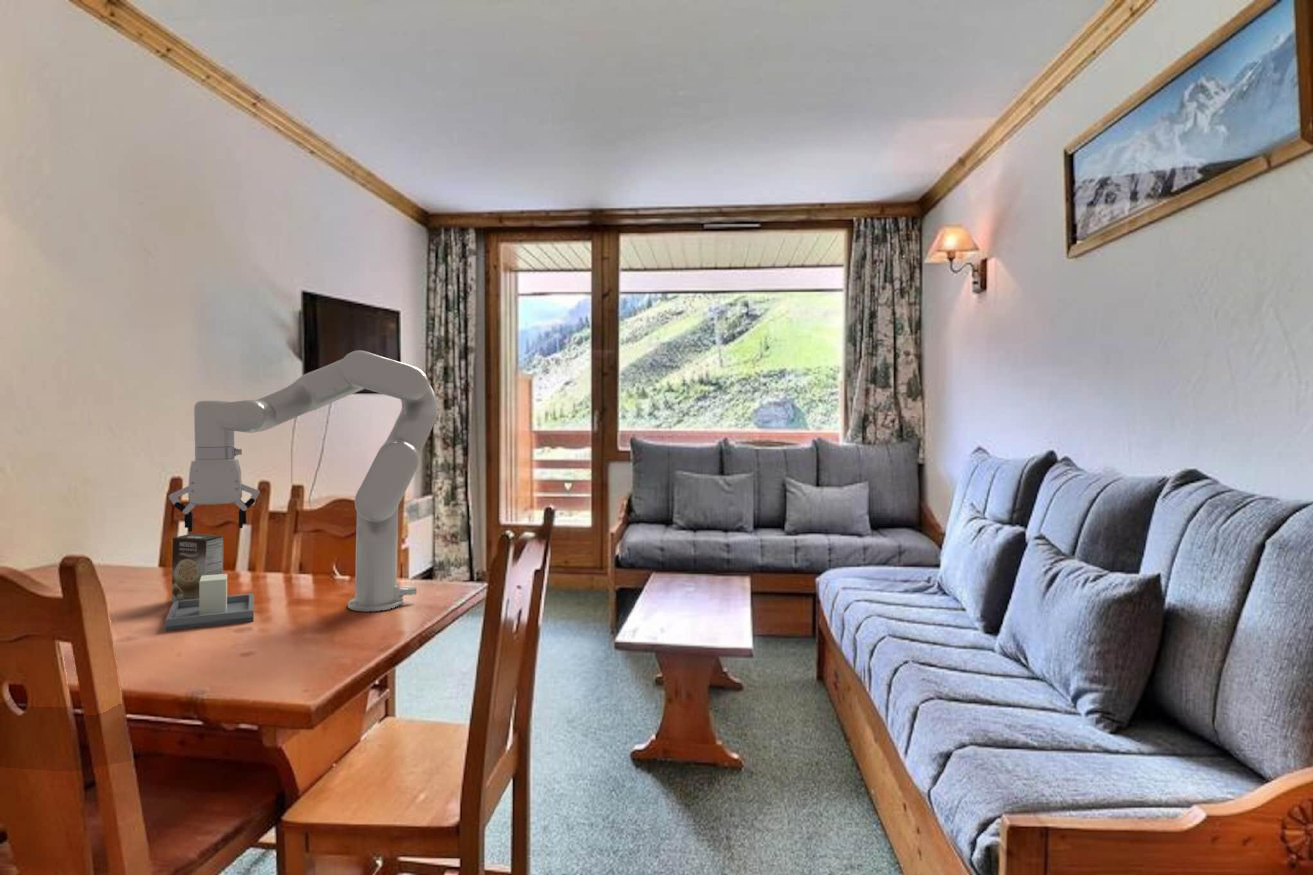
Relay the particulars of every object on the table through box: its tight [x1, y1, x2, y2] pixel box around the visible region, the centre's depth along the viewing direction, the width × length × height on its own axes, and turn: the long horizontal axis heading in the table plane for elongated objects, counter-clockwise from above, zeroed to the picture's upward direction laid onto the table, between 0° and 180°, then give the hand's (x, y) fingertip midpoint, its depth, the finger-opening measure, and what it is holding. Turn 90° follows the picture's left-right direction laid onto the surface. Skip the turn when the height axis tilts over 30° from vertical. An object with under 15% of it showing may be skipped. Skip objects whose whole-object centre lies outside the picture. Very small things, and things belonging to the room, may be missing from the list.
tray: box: [165, 592, 255, 632], centre depth 152 cm, size 16×16×2 cm
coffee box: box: [171, 532, 225, 603], centre depth 164 cm, size 9×6×16 cm
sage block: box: [199, 573, 228, 615], centre depth 152 cm, size 5×6×8 cm
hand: (216, 529), depth 152 cm, fingers open, 9 cm apart
